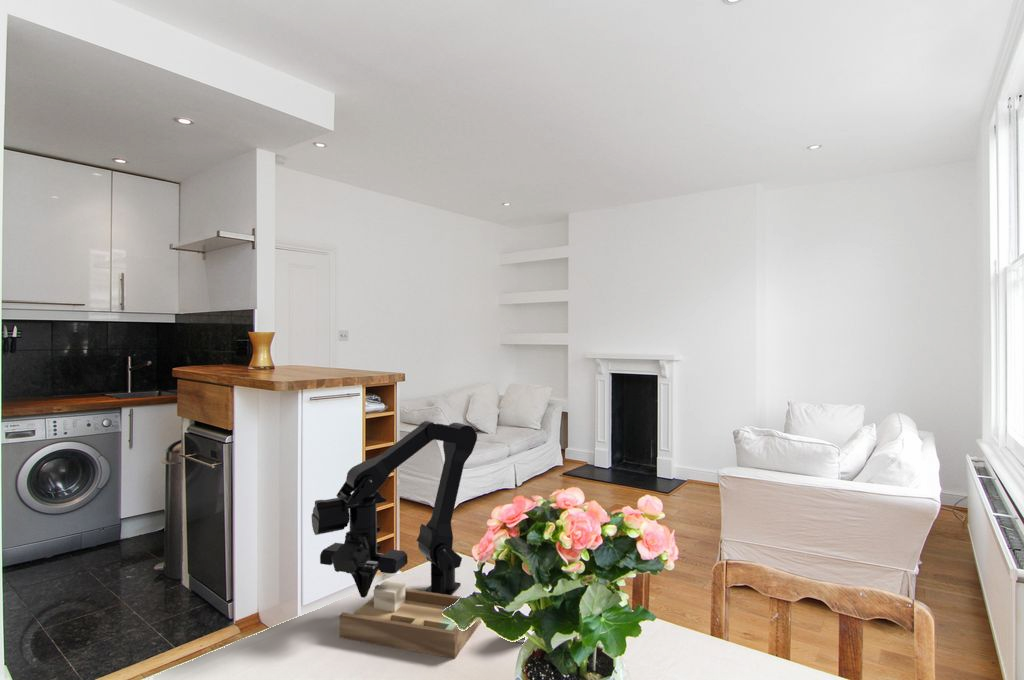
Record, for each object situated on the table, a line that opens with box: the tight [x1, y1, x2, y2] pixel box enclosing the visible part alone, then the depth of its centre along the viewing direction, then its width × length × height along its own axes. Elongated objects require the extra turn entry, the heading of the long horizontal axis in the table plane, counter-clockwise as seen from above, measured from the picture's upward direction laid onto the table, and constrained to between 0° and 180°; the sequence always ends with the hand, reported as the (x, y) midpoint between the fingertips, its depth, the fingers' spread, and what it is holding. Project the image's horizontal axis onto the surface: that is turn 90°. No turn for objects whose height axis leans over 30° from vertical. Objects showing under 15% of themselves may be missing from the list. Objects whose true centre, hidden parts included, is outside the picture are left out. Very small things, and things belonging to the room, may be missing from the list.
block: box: [373, 580, 406, 612], centre depth 116 cm, size 4×5×4 cm
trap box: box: [338, 584, 482, 659], centre depth 111 cm, size 14×25×4 cm, turn 72°
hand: (363, 596), depth 118 cm, fingers closed
